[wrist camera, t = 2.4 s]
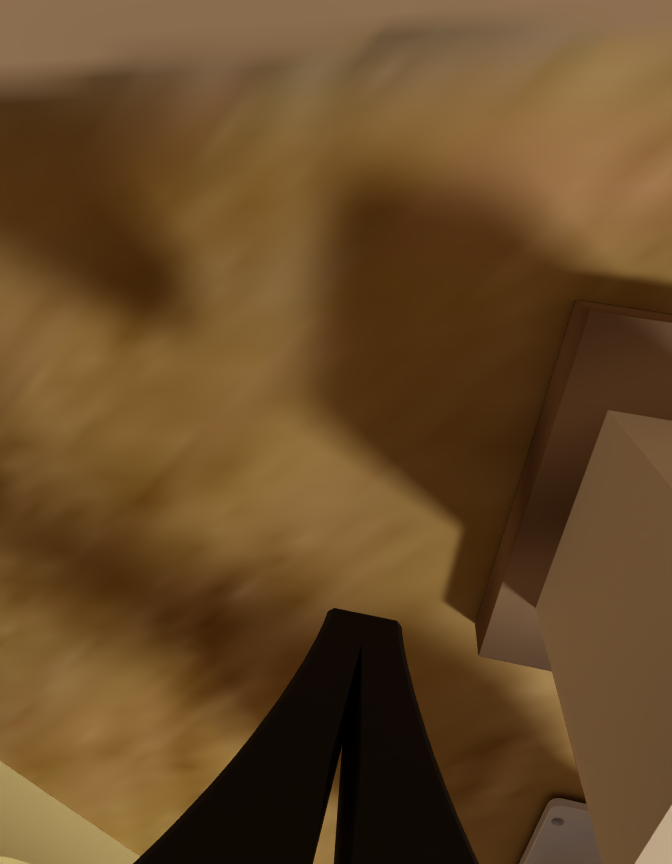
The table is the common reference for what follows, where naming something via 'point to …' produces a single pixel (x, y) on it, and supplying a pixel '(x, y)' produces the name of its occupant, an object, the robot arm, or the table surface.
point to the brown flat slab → (569, 460)
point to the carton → (618, 637)
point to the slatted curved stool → (49, 829)
